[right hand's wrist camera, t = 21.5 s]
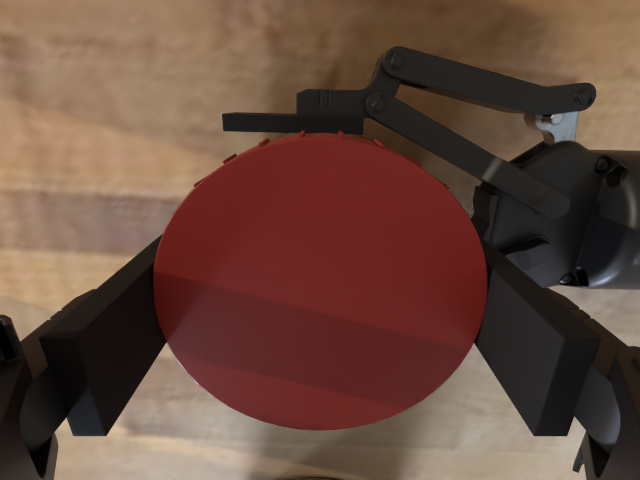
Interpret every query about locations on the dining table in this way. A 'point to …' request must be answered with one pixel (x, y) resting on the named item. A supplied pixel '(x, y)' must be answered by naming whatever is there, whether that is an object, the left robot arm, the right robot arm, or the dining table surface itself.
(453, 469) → the dining table surface
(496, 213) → the left robot arm
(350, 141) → the lid
